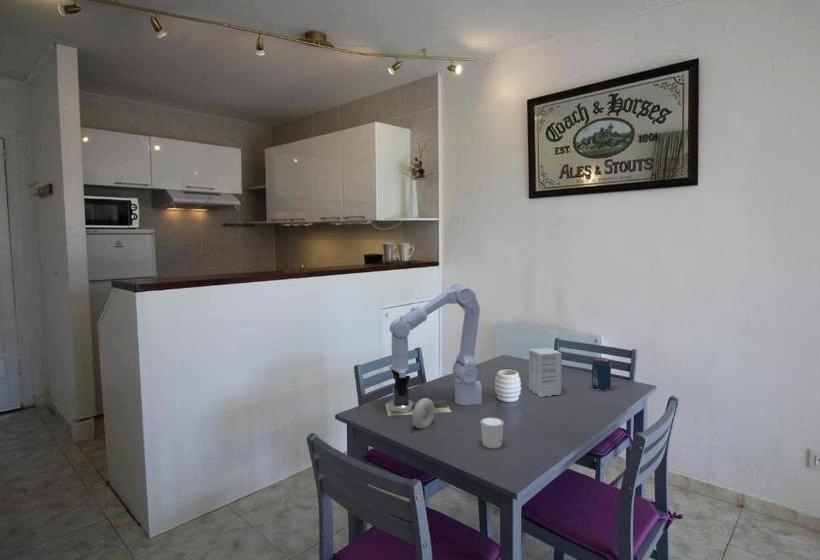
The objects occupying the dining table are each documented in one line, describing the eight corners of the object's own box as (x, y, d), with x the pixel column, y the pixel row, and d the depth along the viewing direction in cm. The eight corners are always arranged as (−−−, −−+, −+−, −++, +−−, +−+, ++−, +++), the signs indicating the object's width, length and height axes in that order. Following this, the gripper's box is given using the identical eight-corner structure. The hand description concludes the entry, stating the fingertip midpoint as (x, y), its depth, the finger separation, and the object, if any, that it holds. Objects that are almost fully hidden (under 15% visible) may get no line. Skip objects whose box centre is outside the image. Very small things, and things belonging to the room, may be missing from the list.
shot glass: (478, 439, 145) (478, 417, 144) (500, 438, 145) (500, 416, 145) (483, 449, 138) (483, 426, 137) (506, 448, 139) (506, 425, 138)
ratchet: (444, 401, 175) (444, 389, 174) (449, 410, 166) (449, 397, 165) (387, 404, 172) (386, 392, 172) (389, 414, 163) (388, 401, 163)
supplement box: (561, 395, 183) (562, 352, 181) (540, 397, 181) (540, 354, 179) (548, 387, 192) (549, 347, 191) (528, 390, 190) (528, 348, 188)
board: (444, 403, 176) (444, 400, 176) (451, 415, 164) (451, 411, 164) (385, 406, 174) (385, 403, 173) (388, 419, 162) (388, 415, 162)
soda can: (611, 387, 192) (612, 358, 190) (608, 392, 186) (609, 362, 185) (593, 384, 195) (594, 356, 194) (589, 389, 190) (590, 360, 188)
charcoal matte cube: (406, 400, 171) (406, 383, 170) (408, 405, 166) (408, 388, 165) (393, 401, 170) (392, 384, 170) (394, 405, 165) (394, 389, 165)
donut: (419, 435, 148) (418, 404, 147) (410, 432, 151) (409, 402, 150) (437, 425, 156) (436, 395, 155) (428, 422, 158) (428, 393, 157)
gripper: (386, 349, 173) (387, 385, 174) (390, 359, 159) (391, 399, 160) (406, 348, 174) (406, 384, 175) (411, 358, 159) (412, 398, 161)
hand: (400, 391), depth 168 cm, fingers open, 7 cm apart
